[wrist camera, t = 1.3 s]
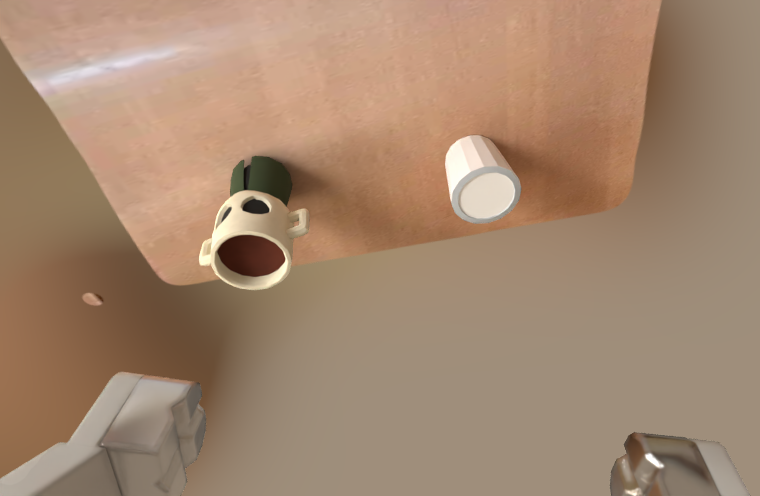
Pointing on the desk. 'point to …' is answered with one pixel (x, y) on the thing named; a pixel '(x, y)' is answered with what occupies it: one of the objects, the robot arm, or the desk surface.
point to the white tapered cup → (480, 180)
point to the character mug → (255, 227)
